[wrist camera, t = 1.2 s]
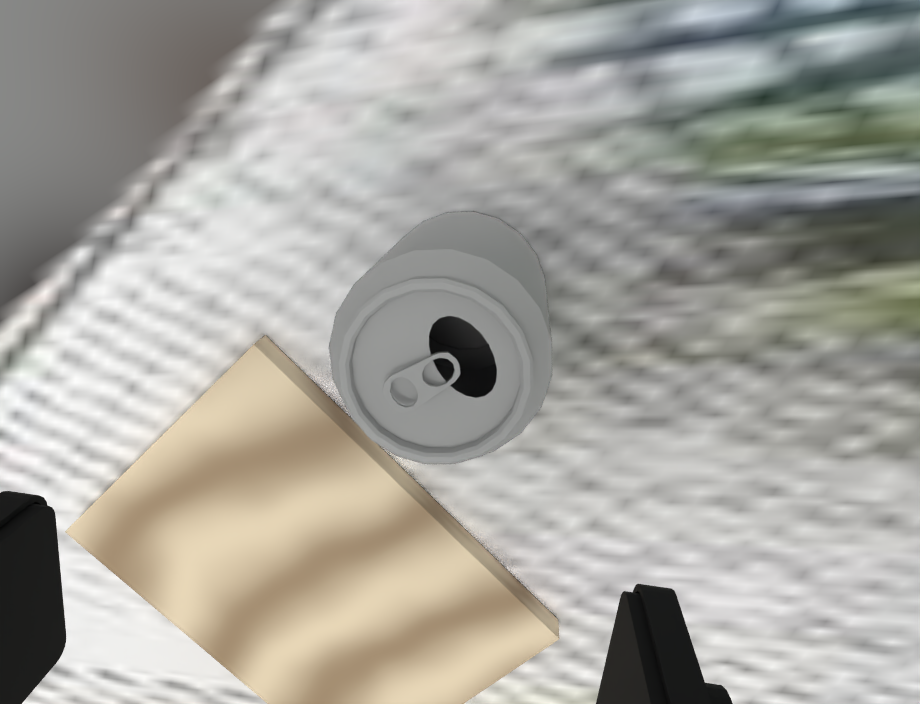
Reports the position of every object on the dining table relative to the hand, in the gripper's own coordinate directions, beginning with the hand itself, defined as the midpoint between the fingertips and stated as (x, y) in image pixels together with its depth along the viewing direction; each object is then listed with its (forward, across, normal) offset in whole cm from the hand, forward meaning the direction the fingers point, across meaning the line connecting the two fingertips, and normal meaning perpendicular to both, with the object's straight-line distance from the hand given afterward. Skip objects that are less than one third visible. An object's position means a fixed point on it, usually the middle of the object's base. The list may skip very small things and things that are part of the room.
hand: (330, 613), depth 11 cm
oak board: (+23, +6, +17) cm, 29 cm away
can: (+23, 0, 0) cm, 23 cm away
